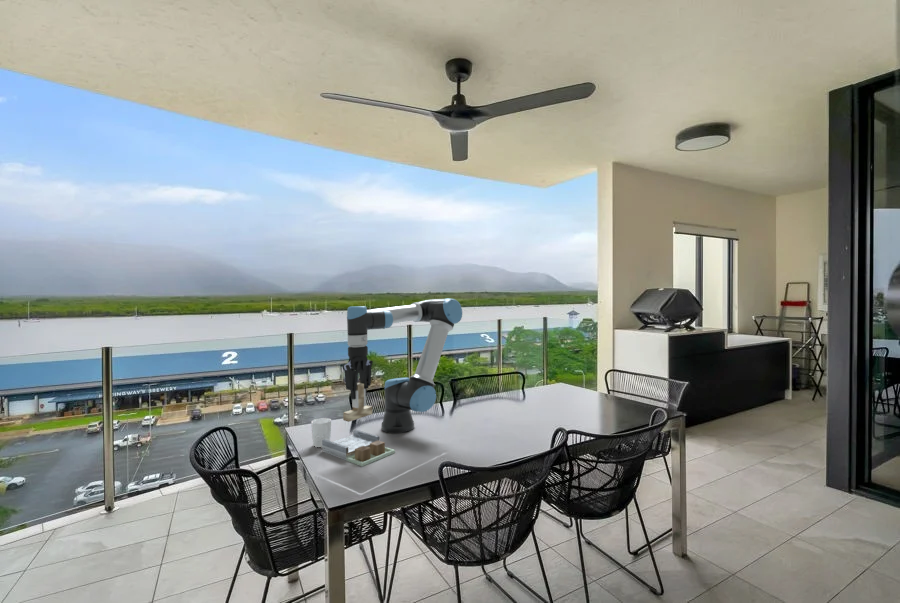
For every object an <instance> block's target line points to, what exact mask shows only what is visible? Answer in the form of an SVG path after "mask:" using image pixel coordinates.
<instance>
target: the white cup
mask: <svg viewBox="0 0 900 603" xmlns="http://www.w3.org/2000/svg"><path fill="white" fill-rule="evenodd" d="M310 422H311V435H312V436H311V438H312V446H313V447H314V446H315V447H314V448H317V447H321V448H322V440H324V439H325V440H328V441H331V437H332V436H331V435H332V419H331V418H329V417H321V418H316V419H315V418H314V419H312V420H311V421H310Z"/></svg>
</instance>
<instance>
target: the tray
mask: <svg viewBox="0 0 900 603" xmlns="http://www.w3.org/2000/svg"><path fill="white" fill-rule="evenodd" d="M395 453H396V450H395V449H393V448H390V447H386V446H385V453H383V454H381V455H379V456H375V455H372V454H370V455H371V459H369V460H366V461H364V462H361V461H358V460H355V454H354V455H352V456H349V457H347V458H346V460H345V461H346V462H349V463H352V464H354V465H358V466H360V467H364V466H367V465H369V464H371V463H374V462H375V461H378V460H380V459H383V458H385V457H388V456H391V455H393V454H395Z"/></svg>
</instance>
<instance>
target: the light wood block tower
mask: <svg viewBox="0 0 900 603" xmlns="http://www.w3.org/2000/svg"><path fill="white" fill-rule="evenodd" d="M356 390H357V391H358V405H359V408H354V407H352V409H351V410H347V411H343V413H342V415H343V417H342V420H343V421H345V422H348V423H350V422H353V421H355V420H358V419H361V418H364V417H365V418H366V417H368V416H371V415H373V406H372V405H367V404H366V405H365V406H364V384H363V383H360V382H357V389H356Z"/></svg>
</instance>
